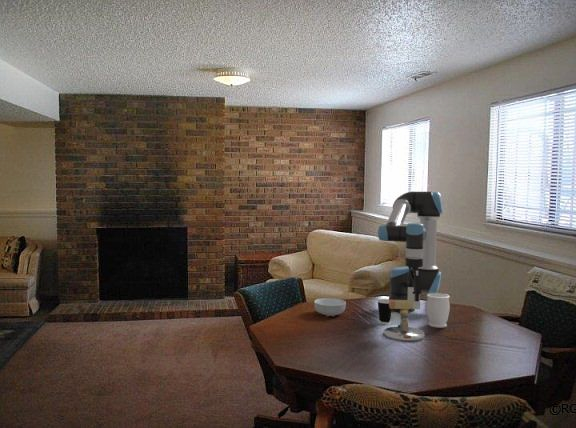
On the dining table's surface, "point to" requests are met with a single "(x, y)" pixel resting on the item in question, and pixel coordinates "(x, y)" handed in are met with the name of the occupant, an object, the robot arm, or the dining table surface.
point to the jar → (438, 309)
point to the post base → (404, 333)
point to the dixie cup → (384, 311)
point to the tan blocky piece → (402, 309)
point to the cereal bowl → (329, 306)
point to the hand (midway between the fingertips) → (413, 304)
